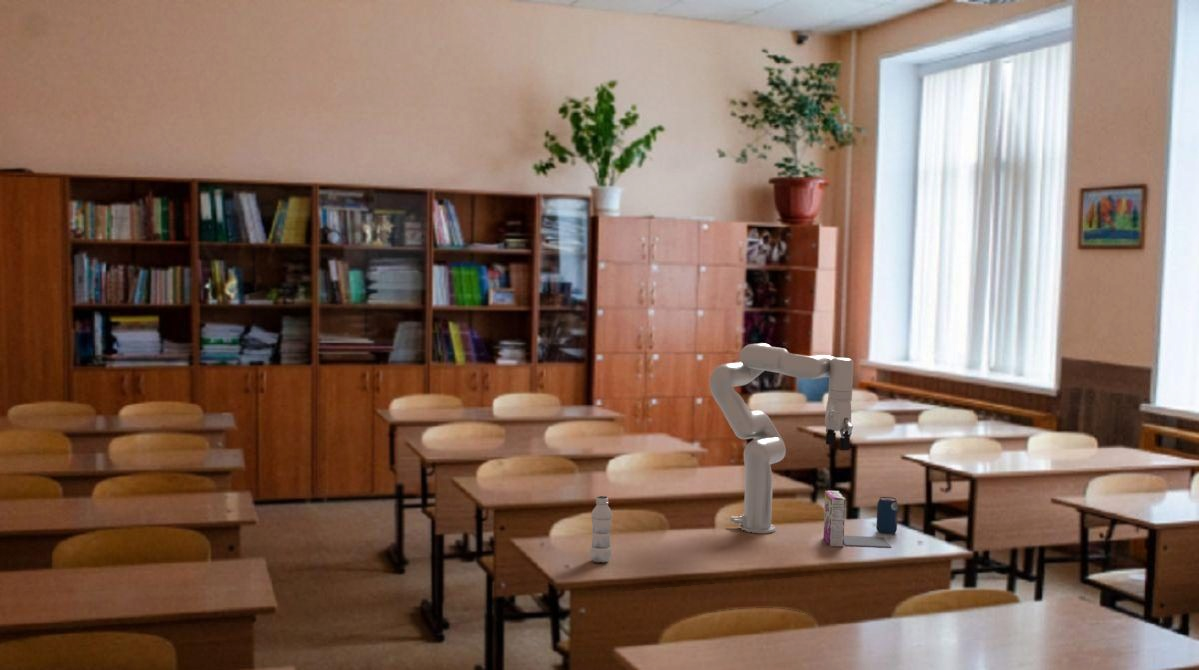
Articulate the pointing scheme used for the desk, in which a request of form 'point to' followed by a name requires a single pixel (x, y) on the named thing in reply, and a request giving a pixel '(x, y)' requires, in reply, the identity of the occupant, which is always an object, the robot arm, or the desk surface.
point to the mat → (866, 541)
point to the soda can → (887, 515)
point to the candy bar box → (834, 518)
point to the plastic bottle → (601, 531)
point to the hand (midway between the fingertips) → (837, 447)
